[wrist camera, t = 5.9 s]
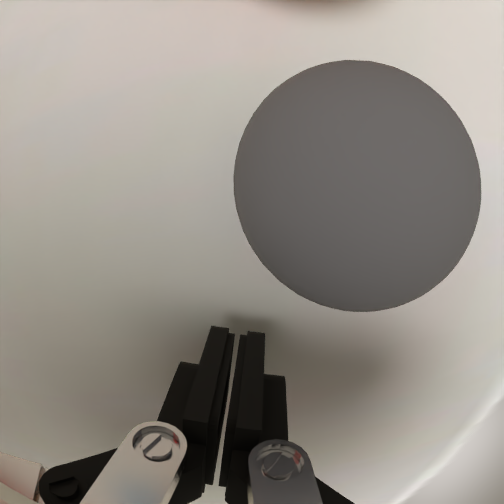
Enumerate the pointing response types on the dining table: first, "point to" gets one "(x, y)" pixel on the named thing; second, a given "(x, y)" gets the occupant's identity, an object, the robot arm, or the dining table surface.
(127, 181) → the dining table surface
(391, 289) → the gray sphere
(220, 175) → the dining table surface
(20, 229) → the dining table surface
